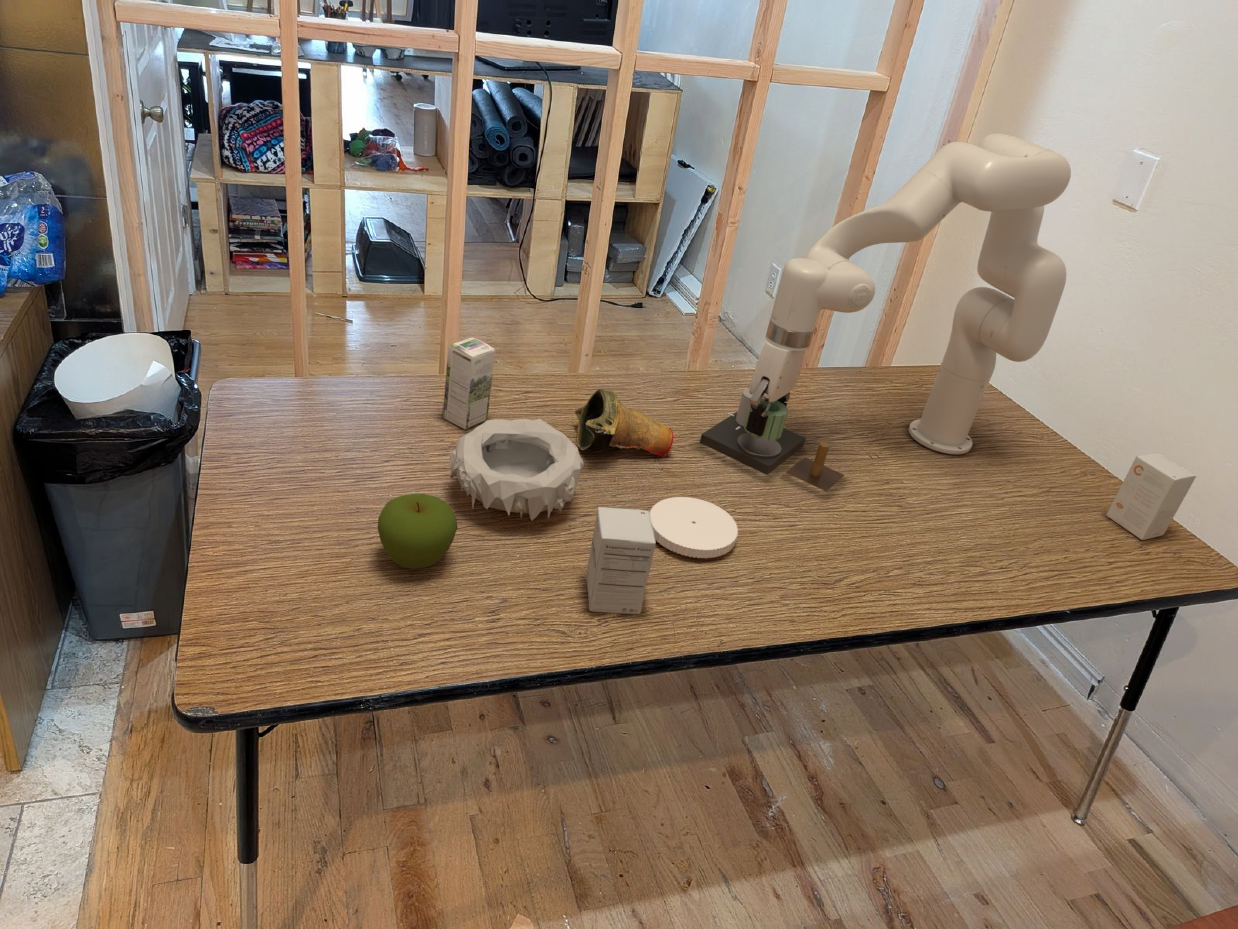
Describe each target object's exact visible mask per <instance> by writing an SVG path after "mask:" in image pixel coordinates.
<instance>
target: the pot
mask: <svg viewBox="0 0 1238 929" xmlns="http://www.w3.org/2000/svg"><path fill="white" fill-rule="evenodd" d="M573 413H574V414H575V416H576V418H577V420H578V427H577V430H576V431H577V434H576V435H577V436H576V439H577V440H576V444H577V447H578V448H579V449H580V450H583V451H584V450H587V451H589V452H592V453H597V452H602V451H606V450H607V451H608V450H616V449H618V448H619V449H633V448H635V449H637V450H639V451H640V450H641V449H643V450H645V451H648V452H650V453H651V454H654V455H657V456H661V458H662V459H664V457H665V456H666V455H668V454H669V453H670V452H671V449H672V446H673V443H674V437H675V435H674V431H673V429H671V427H670V428H669V427H667V426H666V425H665V424H663V423H662V422H660V421H659V420H657V419H654V418H653V417H651V416H650V415H648V414H645V413H644V412H641V411H639V410H635V409H633V408H630V407H627V406H626V405H624V404H623V403H622V402H621V401H620V400H619V397H618V394H617V393H616V392H615V391H611V390H605V389H601V388H599V389H598V388H597V390H596V391H594V393H592V395H591V396H590V398H588V401H587V402H586V404H585V405H583V406H582V407H579V408H578V409H576V410H574V411H573Z"/></svg>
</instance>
